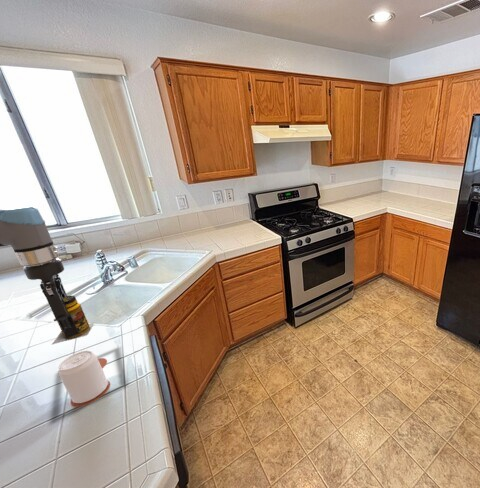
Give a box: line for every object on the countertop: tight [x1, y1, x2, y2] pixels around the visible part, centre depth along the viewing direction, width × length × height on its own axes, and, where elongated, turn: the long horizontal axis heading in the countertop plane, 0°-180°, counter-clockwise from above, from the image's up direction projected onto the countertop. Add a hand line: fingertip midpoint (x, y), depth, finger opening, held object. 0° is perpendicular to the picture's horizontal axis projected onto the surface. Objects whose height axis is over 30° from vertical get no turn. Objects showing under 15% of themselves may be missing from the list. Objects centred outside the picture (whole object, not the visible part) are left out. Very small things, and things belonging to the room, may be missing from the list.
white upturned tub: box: [57, 350, 109, 403], centre depth 74 cm, size 8×8×12 cm
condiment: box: [51, 295, 95, 345], centre depth 80 cm, size 7×8×12 cm
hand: (72, 330), depth 81 cm, fingers closed on condiment, 6 cm apart
